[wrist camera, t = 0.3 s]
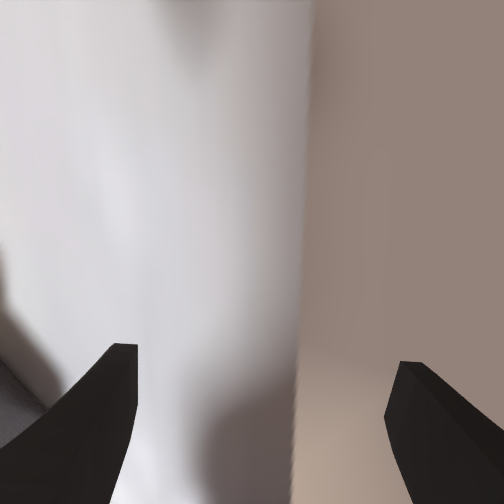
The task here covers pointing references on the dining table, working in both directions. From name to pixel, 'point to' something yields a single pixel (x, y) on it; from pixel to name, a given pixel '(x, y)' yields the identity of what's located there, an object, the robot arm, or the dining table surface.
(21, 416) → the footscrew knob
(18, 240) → the dining table surface
